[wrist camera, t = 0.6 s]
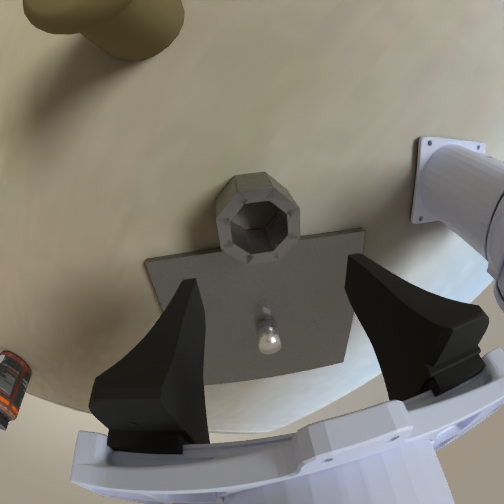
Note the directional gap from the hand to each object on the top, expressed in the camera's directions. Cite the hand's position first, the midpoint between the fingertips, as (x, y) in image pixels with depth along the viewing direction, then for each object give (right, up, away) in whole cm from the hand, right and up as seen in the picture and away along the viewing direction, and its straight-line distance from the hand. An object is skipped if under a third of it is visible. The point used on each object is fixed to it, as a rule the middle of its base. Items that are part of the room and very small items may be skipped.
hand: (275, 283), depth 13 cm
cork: (-8, +17, 0) cm, 19 cm away
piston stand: (0, -5, +14) cm, 15 cm away
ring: (-1, +5, +8) cm, 9 cm away
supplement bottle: (-36, -15, +15) cm, 42 cm away
